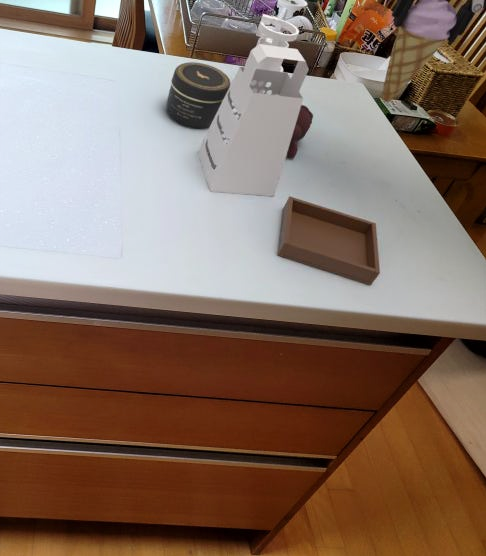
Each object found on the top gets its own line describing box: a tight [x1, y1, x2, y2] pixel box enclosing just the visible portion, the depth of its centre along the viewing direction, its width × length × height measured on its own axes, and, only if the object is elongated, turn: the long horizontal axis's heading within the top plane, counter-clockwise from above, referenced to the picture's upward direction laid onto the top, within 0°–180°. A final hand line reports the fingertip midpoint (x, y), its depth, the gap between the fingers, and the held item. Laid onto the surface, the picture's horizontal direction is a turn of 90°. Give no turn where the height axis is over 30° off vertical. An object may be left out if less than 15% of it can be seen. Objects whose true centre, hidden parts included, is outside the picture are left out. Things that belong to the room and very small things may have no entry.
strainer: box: [244, 13, 300, 94], centre depth 102 cm, size 7×7×15 cm
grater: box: [197, 44, 310, 197], centre depth 81 cm, size 10×10×20 cm
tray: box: [277, 196, 381, 286], centre depth 79 cm, size 13×11×2 cm
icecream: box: [286, 104, 314, 159], centre depth 96 cm, size 7×7×15 cm
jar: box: [166, 61, 231, 129], centre depth 96 cm, size 10×10×8 cm
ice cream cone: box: [380, 0, 457, 103], centre depth 76 cm, size 7×6×15 cm
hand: (423, 29), depth 74 cm, fingers closed on ice cream cone, 6 cm apart
